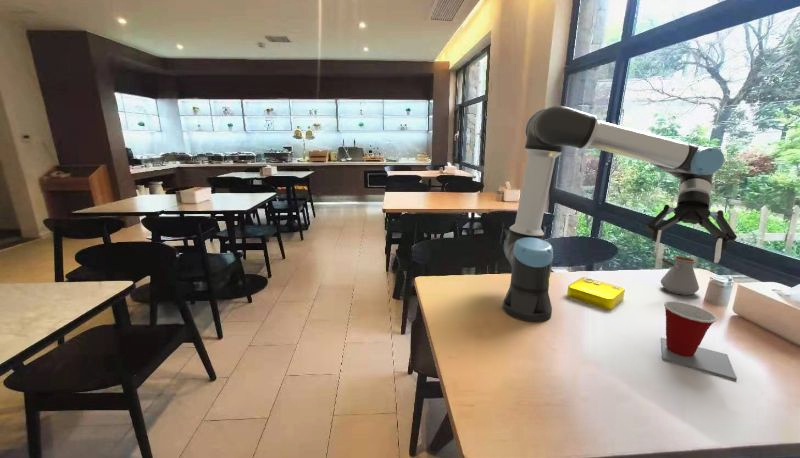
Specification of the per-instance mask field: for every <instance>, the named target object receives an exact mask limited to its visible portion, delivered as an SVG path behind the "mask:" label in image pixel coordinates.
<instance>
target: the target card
mask: <svg viewBox="0 0 800 458" xmlns="http://www.w3.org/2000/svg"><path fill="white" fill-rule="evenodd" d="M660 346H661V360H662V361H665V362H668V363H672V364H676V365H679V366H683V367H686V368H688V369H694V370H697V371H700V372H704V373H707V374H711V375H714V376H717V377H718V376H719V377H722V378H725V379H728V380H732V381H737V376H736V373H735V371H734V368H733V366H732V363H731V361H730V358H729V355H728V354H727V353H723V352H720V351H716V350H712V349H708V348H703V347H700V346H698V348H697V350H696V352H695V354H694V355H693V356H691V357H686V356H681V355H678V354H675V353H673V352H671V351H670V350H669V349H668V348H667V345H666V337H660Z"/></svg>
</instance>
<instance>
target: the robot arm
mask: <svg viewBox="0 0 800 458" xmlns="http://www.w3.org/2000/svg"><path fill="white" fill-rule="evenodd" d="M525 137H526V141H525V146H524V151H525V152H526V154H527V161H526V164H525V165H526V166H525V171H524V175H523V176H524V177H523V181H522V187H521V190H520V197H519V200H518V201H519V202H518V207H517V212H516V216H515V221H514V222H515V223H514V224H512V225H511V226H509V229H508V233H507V236H506V237H505V240H504V242H503V252H504V255H505V257H506V259H507V260H508V263H509V264H510V266H511V274H510V284H509V288H508V290H507V292H506V294H505V296H504V299H503V302H502V310H503V311H504V312H505V313H506V314H507V315H508V316H510V317H513V318H515V319H517V320H522V321H525V322H526V321H527V322H533V323H534V322H535V323H537V322H539V323H540V322H545V321H547V320H549V319H550V318H551V317H552V312H553V307H552V306H553V305H552V302H551V298H550V295H549V289H550V281H551V274H552V273H551V272H552V265H553V261H554V247H553V246H552V244H551V243H550V242H548V241H545V240H544V236H545V233H544V231H543V230H542V223H543V218H544V214H545V213H544V212H545V209H546V204H547V200H548V196H549V190H550V186H551V181H552V177H553V172H554V168H555V162H556V159H557V158H558V157H559V156H560V155H561V154H562V153H563V149H564V147H572V148H577V149H584V148H586V147H587V148H591V149H595V150H600V151H604V152H606V153H611V154H615V155H619V156H623V157H627V158H631V159H635V160H637V161H642V162H646V163H650V164H651V165H653V167H656V168H658V169H659V170H661V171H664V172H665V173H668V174H669V175H670V176H673V177H675V178H677V179H678V180H680V184H679V191H678V197H677V202H676V203H677V204H676V206H675V207H672V206H670V205H669V204H665V205H664V206H663V209H662V210H661V211H660V212H659V213H658V214H657V215H655V216H654V218H653V219H651V221H649V223H648V224H647V225H646V232H650V233H652V235H651V236H652V237H651V242H653V243H655V245H654V251H653V252H654V254H658V251H659V247H660V241H661V236H662V232H663V231H665V230H666V229H668V228H670V227H672V226H674V225H675V224H678V223H681V222H682V223H684V224H692V225H700V227H702V228H704V229H706V231H707V232H709V234H710V235H711V236H713V237H714V239H716V244H715V250H714V252H715V253H714V261H713V263H714V264H718V263H719V262H720V260H721V258H722V257H721V255H722V253H725V252H726V251H727V248H728V243H729V244H734V243H735V241H736V240H737V237H738V235H737V234H736V233H735V232H734V230H733V229H732V227H731V225H730V224H729V222H728V221H727V220H726V218H725V217H724V211H723V210H721V209H720V210H717V211H710V201H711V194H712V186H713V185H712V182H713V176H714V174H715V173H717V172H718V171H719V170H720V169H721V168H722V167H723V164H724V162H725V156H724V153H723V152H722V151H721V150H720V149H719V148H716V147H712V146H706V145H705V146H700V145H696V144H692V143H687V142H684V141H680V140H677V139H676V140H675V139H672V138H668V137H665V136H661V135H658V134H657V135H656V134H653V133H650V132H646V131H643V130H642V131H641V130H637V129H633V128H629V127H625V126H621V125H617V124H613V123H610V122H606V121H603V120H599V119H598V117H597V115H595V114H592V113H587V112H584V111H581V110H578V109H576V108H575V109H574V108H572V107H568V106H563V105H553V106H551V107H550V106H549V107H548V108H544V109H541V110H538V111H536V112H535V113H534V114H533V115H532V116H531V117H530V118H529V120H528V121H527V123H526V126H525ZM671 213H674V215H673V216H671V217H670V218H668V219H666V220H664V219H665V218H666V217H667V216H668V215H670V214H671ZM711 217H712V219H713V221H715V223H716V224H717V225H715V223H713V221H711V219H710V218H711ZM662 220H664V221H662ZM661 221H662V222H661Z"/></svg>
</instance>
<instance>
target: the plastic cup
mask: <svg viewBox="0 0 800 458" xmlns="http://www.w3.org/2000/svg"><path fill="white" fill-rule="evenodd" d="M663 306H664V309H665V310H664V311H665V338H666V345H667V348H668V349H669V350H670V351H671V352H673V353H675V354H678V355H681V356H686V357H691V356H693V355H694V354H695V352H696V350H697V348H698V347H700V345H701V343H702V341H703V339H704V338H705V335H706V333H707V332H708V330H709V329H710V328H711V326H712V325H713V324H714V323H716V322H717V320H718V317H717V316H716V314H714V313H712V312H711V311H709V310H707V309H704V308H701V307H699V306H696V305H693V304H690V303H687V302H682V301H677V300H676V301H672V300H668V301H665V302H664V303H663Z"/></svg>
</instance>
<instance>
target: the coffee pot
mask: <svg viewBox="0 0 800 458" xmlns="http://www.w3.org/2000/svg"><path fill="white" fill-rule="evenodd" d="M673 259H674V261H675V263H673V262H672V261H670V260H668V259H665V258H662V259H659V260H658V261H657V262H658V263H660V261H663V265H665V264H667V265H668V266H671V268H669V270H668V271H667V272H666V273H665V274H664V276H662V277H661V280H660V283H661V285H662V287H663V288H664V289H665V288H666V289H665V290H666V291H667V290H668V291H667V292H669V291H670V292H669V293H671V292H672V293H671V294H674V293H675V295H678V294H681V295H680V296H690V294H691V295H692V294H695V293H697V292H698V291H699V289H700V286H699V282H698V279H697V276H696V273H695V271H694V269H695V268H694V266H693V265H695V263H697V260H695V259H693V258H690V257H686V256H673Z"/></svg>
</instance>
